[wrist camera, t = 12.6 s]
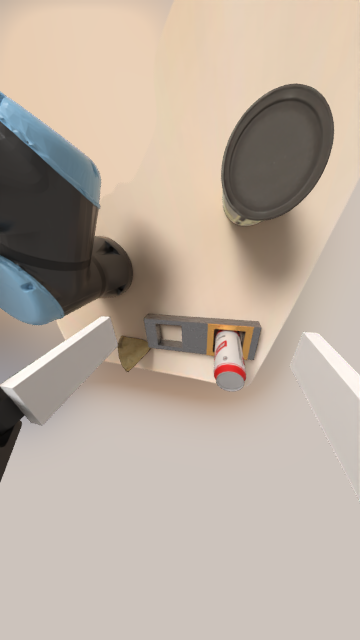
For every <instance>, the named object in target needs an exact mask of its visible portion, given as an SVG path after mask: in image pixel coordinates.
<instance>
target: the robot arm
mask: <svg viewBox="0 0 360 640" xmlns="http://www.w3.org/2000/svg"><path fill="white" fill-rule="evenodd" d="M100 187H101V177H100V173H99V171H98V169H97V167H96V165H95V164H94V163H93V161H92V160H91V159H90V158H88V157H87V156H86V155H85V154H84V153H82V152H81V151H80V150H79V149H77V148H76V147H75V146H74V145H72V144H71V143H70V142H68V141H67V140H66V139H64V138H63V137H62V136H61V135H59V134H58V133H57V132H55V131H54V130H52V129H51V128H50V127H49V126H47V125H46V124H44V123H43V122H42V121H41V120H39V119H38V118H37V117H35V116H34V115H32V114H31V113H30V112H28V111H27V110H26V109H24V108H23V107H22V106H20V105H19V104H17V103H16V102H15V101H13V100H12V99H10V98H8V97H7V96H6V95H4V94H3V93H2V92H0V308H1V309H2V310H4V311H5V312H7V313H8V314H9V315H11V316H13V317H14V318H16V319H18V320H20V321H22V322H25V323H27V324H32V325H43V324H47V323H49V322H52V321H54V320H56V319H61V318H63V317H64V316H65V315H67V314H69V313H71V312H73V311H75V310H77V309H79V308H81V307H82V306H84V305H86V304H88V303H90V302H92V301H94V300H96V299H98V298H111V297H116V296H119V295H120V294H122V293H124V292H125V291H126V290H127V289H128V288H129V287H130V285H131V282H132V276H133V272H132V266H131V262H130V260H129V258H128V256H127V254H126V252H125V251H124V250H123V248H122V247H121V246H120V245H119V244H117V243H116V242H115V241H113V240H112V239H109V238H107V237H103V236H95V229H96V223H97V216H98V210H99V209H100V204H99V200H100ZM117 346H118V343H117V340H116V336H115V332H114V329H113V325H112V322H111V318H110V317H104V316H101V317H100V318H98V319H97V320H95V321H94V322H92V323H91V324H89V325H88V326H87V327H85V328H84V329H82V330H81V331H79V332H78V333H76V334H75V335H73V336H72V337H70V338H69V339H67V340H66V341H64V342H63V343H61V344H60V345H58V346H57V347H55V348H54V349H52V350H51V351H49V352H48V353H46V354H44V355H43V356H42V357H40V358H38V359H37V360H36V361H34V362H32V363H31V364H30V365H29V366H27V367H25V368H24V369H22V370H20V371H19V372H18V373H16V374H15V375H13V376H12V377H10V378H9V379H7V380H6V381H4V382H3V383H1V384H0V482H1V479H2V476H3V474H4V471H5V468H6V466H7V463H8V460H9V458H10V455H11V453H12V450H13V447H14V445H15V441H16V439H17V437H18V434H19V431H20V429H21V426H22V422H21V421H20V419H21V418H22V417H23V416H26V417H27V419H28V420H29V421H30V422H31V423H35V424H38V425H41V426H42V425H44V424H45V422H46V421H47V420H48V419H49V418H50V417H51V416H52V415H53V414H54V413H55V412H56V411H57V410H58V409H59V408H60V407H61V406H62V404H63V403H64V402H65V401H66V400H67V399H68V398H69V397H70V396H71V395H72V394H73V393H74V392H75V391H76V390H77V388H78V387H79V386H80V385H81V384H82V383H83V382H84V381H85V380H86V379H87V378H88V377H89V376H90V375H91V374H92V373H93V372H94V370H95V369H96V368H97V367H98V366H99V365H100V364H101V363H102V362H103V361H104V360H105V359H106V358H107V357H108V356H109V355H110V354H111V352H112V351H113V350H114V349H115V348H116V347H117ZM290 368H291V370H292V372H293V374H294V376H295V378H296V380H297V382H298V384H299V385H300V387H301V389H302V391H303V393H304V395H305V397H306V399H307V401H308V403H309V405H310V407H311V408H312V411H313V413H314V415H315V416H316V418H317V420H318V422H319V424H320V426H321V428H322V430H323V432H324V434H325V436H326V438H327V440H328V442H329V444H330V446H331V447H332V449H333V451H334V453H335V455H336V457H337V459H338V461H339V463H340V465H341V467H342V469H343V471H344V473H345V475H346V476H347V478H348V480H349V482H350V484H351V486H352V488H353V490H354V492H355V494H356V496H357V498H358V500H359V502H360V375H359V374H358V373H357V372H356V371H355V370H354V369H353V368H352V367H351V366H350V365H349V364H348V363H347V362H346V361H345V360H344V359H343V358H342V357H341V356H340V355H339V354H338V353H337V352H336V351H335V350H334V349H333V348H332V347H331V346H330V345H329V344H328V343H327V342H326V341H325V340H324V339H323V338H322V337H321V336H320V335H319V334H318V333H309V332H303V333H302V336H301V339H300V341H299V344H298V346H297V349H296V351H295V354H294V357H293V359H292V362H291V364H290Z"/></svg>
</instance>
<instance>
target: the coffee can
mask: <svg viewBox="0 0 360 640" xmlns="http://www.w3.org/2000/svg"><path fill="white" fill-rule="evenodd" d="M333 138H334V122H333V117H332V113H331V110H330V107H329V105H328V103H327V101H326V99H325V98H324V97H323V96H322V94H320V93H319V92H318V91H317V90H316V89H314V88H312V87H310V86H307V85H302V84H289V85H284V86H281V87H278V88H276V89H273V90H271V91H270V92H268V93H266V94H265V95H263V96H262V97H261V98H259V99H258V100H257V101H256V102H255V103H254V104H253V105H252V106H251V107H250V108H249V109H248V110H247V111H246V112H245V113H244V115H243V116H242V117H241V119H240V120H239V122H238V123H237V125H236V126H235V128H234V130H233V132H232V134H231V136H230V138H229V140H228V143H227V146H226V149H225V152H224V156H223V162H222V170H221V180H222V188H223V195H222V203H223V208H224V211H225V213H226V216H227V217H228V218H229V219H230V220H231V221H232V222H233V223H235V224H237V225H240V226H251V225H254V224H257V223H259V222H261V221H264V220H269V219H273V218H276V217H279V216H281V215H283V214H285V213H287V212H288V211H290V210H291V209H293V208H294V207H295V206H297V205H298V204H299V203H300V202H301V201H302V200H303V199H304V198H305V197H306V196H307V195H308V194H309V193H310V192H311V191H312V189H313V188H314V187H315V185H316V184H317V182H318V180H319V179H320V177H321V175H322V173H323V171H324V169H325V167H326V165H327V162H328V159H329V156H330V153H331V149H332V144H333Z"/></svg>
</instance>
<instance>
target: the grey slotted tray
mask: <svg viewBox="0 0 360 640" xmlns="http://www.w3.org/2000/svg"><path fill="white" fill-rule="evenodd" d="M144 323H145V329H146V335H147V341H148V347H150V348H158V349H166V350H175V351H183V352H191V353H200V354H206V355H210V356H215V345H213V339H214V329H222V330H234V331H243V334H242V340H241V347H242V352H243V358H244V360H247V359H250V360H254V356H255V352H256V348H257V343H258V339H259V335H260V331H261V326H260V323H259V322H258V321H244V320H229V319H215V318H200V317H186V316H171V315H156V314H148V315H147V316H146V317H145V318H144ZM160 324H168V325H181V326H182V342H180V341H171V340H161V332H160Z"/></svg>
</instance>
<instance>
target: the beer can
mask: <svg viewBox="0 0 360 640" xmlns="http://www.w3.org/2000/svg"><path fill="white" fill-rule="evenodd" d="M214 377H215V379H216V383H217V385H218V386H219V387H220V388H221V389H224V390H226V391H238V390H240V389H241V388H243V386H244V381H245V379H246V370H245V364H244V358H243V352H242V347H241V341H240V336H239V333H238V332H237V331H234V330H222V329H220V330H219V331H218V332H217V334H216V340H215V357H214Z"/></svg>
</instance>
